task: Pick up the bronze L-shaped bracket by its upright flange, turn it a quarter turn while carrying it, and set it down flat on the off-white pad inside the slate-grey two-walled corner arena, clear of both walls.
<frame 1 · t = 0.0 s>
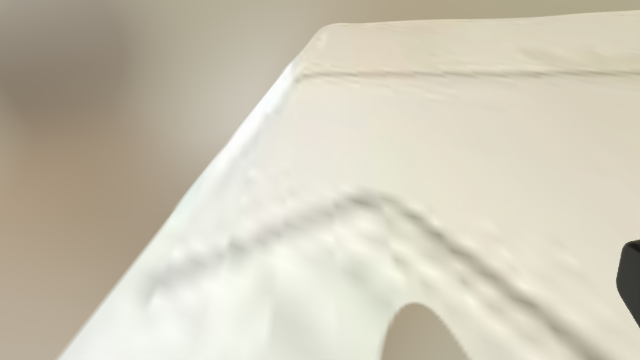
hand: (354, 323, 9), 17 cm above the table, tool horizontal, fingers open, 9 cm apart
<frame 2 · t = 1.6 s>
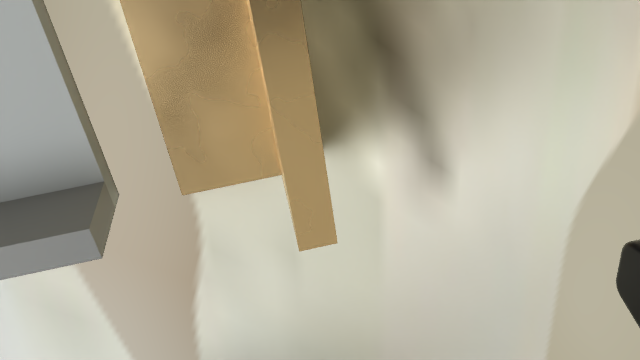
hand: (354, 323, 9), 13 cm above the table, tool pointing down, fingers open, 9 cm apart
bracket: (223, 71, 20), on the table
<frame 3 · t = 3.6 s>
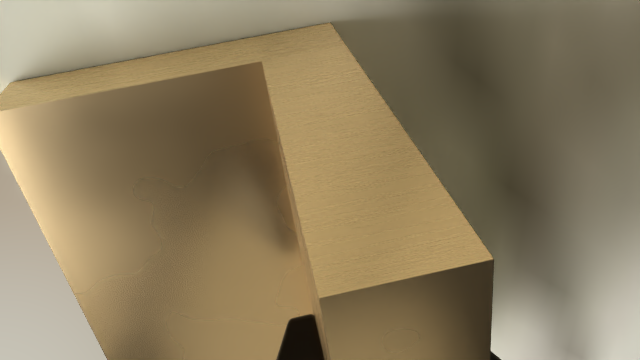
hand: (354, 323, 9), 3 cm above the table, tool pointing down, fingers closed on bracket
bracket: (230, 250, 11), on the table, touching gripper
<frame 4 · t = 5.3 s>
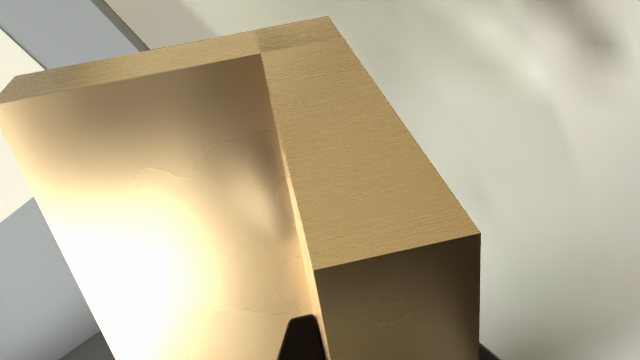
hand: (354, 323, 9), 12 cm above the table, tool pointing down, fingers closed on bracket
bracket: (231, 241, 11), point 9 cm above the table, touching gripper
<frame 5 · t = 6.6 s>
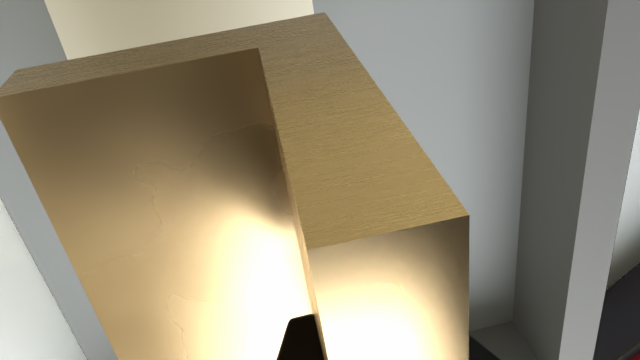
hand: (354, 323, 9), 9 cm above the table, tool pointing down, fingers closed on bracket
bracket: (229, 235, 11), point 6 cm above the table, touching gripper
arena: (299, 168, 17), on the table
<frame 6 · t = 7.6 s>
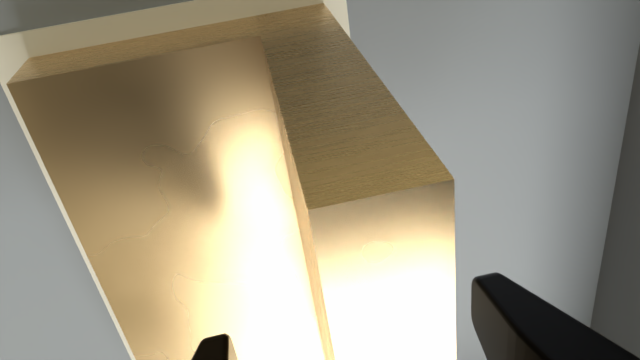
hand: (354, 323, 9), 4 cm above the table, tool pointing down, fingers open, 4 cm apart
bracket: (231, 219, 11), point 1 cm above the table, touching arena
arena: (325, 247, 14), on the table
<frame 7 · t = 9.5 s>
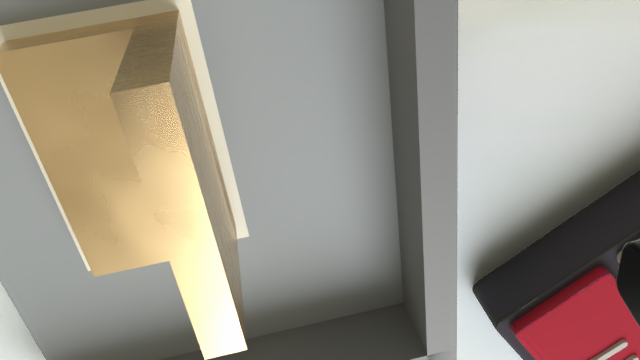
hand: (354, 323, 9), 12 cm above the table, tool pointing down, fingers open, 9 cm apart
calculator: (617, 295, 29), on the table
bracket: (135, 145, 18), point 1 cm above the table, touching arena
arena: (206, 171, 20), on the table
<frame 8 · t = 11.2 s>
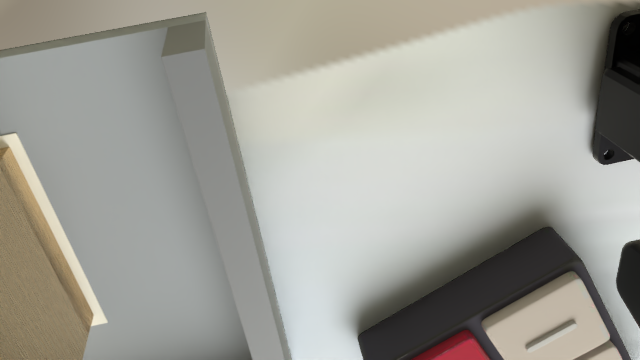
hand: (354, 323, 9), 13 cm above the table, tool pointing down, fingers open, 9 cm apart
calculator: (499, 352, 31), on the table
arena: (66, 266, 23), on the table
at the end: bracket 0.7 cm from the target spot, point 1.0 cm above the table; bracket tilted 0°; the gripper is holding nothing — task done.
